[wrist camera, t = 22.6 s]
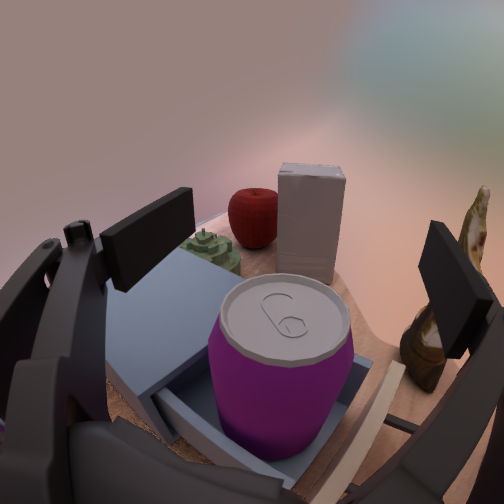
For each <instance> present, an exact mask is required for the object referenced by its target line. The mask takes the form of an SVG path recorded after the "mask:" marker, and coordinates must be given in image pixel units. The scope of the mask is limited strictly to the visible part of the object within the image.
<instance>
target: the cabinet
mask: <svg viewBox="0 0 504 504" xmlns="http://www.w3.org/2000/svg"><path fill="white" fill-rule="evenodd" d="M245 280H247V279H244V278H242V277H240V276H238V275H236V274H234V273H232V272H230V271H227V270H225V269H223V268H221V267H219V266H217V265H215V264H213V263H211V262H209V261H207V260H204V259H202V258H200V257H198V256H196V255H194V254H192V253H190V252H188V251H186V250H184V249H182V248H180V247H177V248H176V249H175V250H173V251H172V252H171V253H170V254H169V255H168V256H167V257H166V258H164V259H163V260H162V261H161V262H160V263H159V264H158V265H157V266H155V267H154V268H153V269H152V270H151V271H150V272H149V273H148V274H147V275H145V276H144V277H143V278H142V279H141V280H140V281H139V282H138V283H137V284H136V285H135V286H133V287H132V288H131V289H130V290H129V291H128V292H127V293H124V292H121V291H118V290H115V289H114V286H113V283H112V280H111V278H110V279H109V280H108V281H107V282H106V284H107V287H108V296H107V311H106V337H105V368H106V378H107V379H108V380H109V382H110V383H111V384H112V385H113V387H114V388H115V389H116V390H117V392H118V393H119V394H120V395H121V396H122V398H123V399H124V400H125V401H126V402H127V403H128V405H129V406H130V407H131V408H132V409H133V410H134V411H135V413H136V414H137V415H138V416H139V417H140V418H141V419H142V420H143V421H144V422H145V423H146V424H147V425H148V427H149V428H150V429H151V430H152V431H153V432H154V433H155V434H156V435H157V436H158V437H159V438H160V439H161V440H162V441H163V442H165V443H166V444H167V445H168V446H170V445H171V444H173V443H174V442H175V441H176V440H177V439H179V438H180V437H181V436H180V435H179V434H178V433H177V432H176V431H175V430H174V429H172V428H171V427H170V426H169V425H168V424H167V423H166V422H165V421H164V420H163V419H162V418H161V416H160V414H159V412H158V410H157V409H156V407H155V405H154V403H153V401H152V399H151V397H150V396H151V395H152V394H154V393H155V392H156V391H158V390H159V389H160V388H162V387H163V386H164V385H166V384H167V383H169V382H170V381H171V380H173V379H174V378H175V377H177V376H178V375H179V374H181V373H182V372H183V371H184V370H186V369H187V368H188V367H190V366H191V365H192V364H194V363H195V362H196V361H197V360H199V359H200V358H201V357H203V356H204V355H205V354H206V353H208V338H209V336H210V334H211V331H212V329H213V326H214V324H215V322H216V319H217V317H218V314H219V311H220V307H221V305H222V302H223V300H224V298H225V296H226V294H227V293H228V292H229V291H231V290H232V289H233V288H234V287H235V286H236V285H238V284H239V283H241V282H243V281H245Z"/></svg>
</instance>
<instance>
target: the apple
mask: <svg viewBox="0 0 504 504" xmlns="http://www.w3.org/2000/svg"><path fill="white" fill-rule="evenodd" d="M228 217H229V223H230V226H231V229H232V232H233V234H234V236H235V237H236V239H237V240H238V242H239V243H241V244H242V245H243V246H245V247H247V248H261V247H264V246H266V245H268V244H270V243H271V242H272V241H274V240H275V239H276V237H277V223H278V193H276V192H275V191H272V190H269V189H262V188H249V189H242V190H239V191H237V192H236V193H235V194H234V195H233V196H232V198H231V200H230V202H229V206H228Z"/></svg>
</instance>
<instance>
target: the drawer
mask: <svg viewBox="0 0 504 504" xmlns="http://www.w3.org/2000/svg"><path fill="white" fill-rule="evenodd" d="M372 363H373V361H371V360H369V359H366V358H364V357H362V356H359V355H357V354H355V353H354V359H353V362H352V365H351V368H350V371H349V374H348V376H347V378H346V381H345V383H344V385H343V387H342V389H341V391H340V393H339V395H338V397H337V399H336V401H335V403H334V405H333V407H332V409H331V411H330V413H329V415H328V417H327V419H326V421H325V423H324V425H323V426H322V428H321V430H320V432H319V434H318V435H317V437H316V439H315V440H314V441H313V442H312V443H311V444H310V445H309V446H308V447H306V448H305V449H304V450H303V451H302V452H300V453H298V454H296V455H294V456H292V457H290V458H287V459H281V460H274V461H268V460H260V459H259V458H257V457H256V456H254V455H252V454H251V453H249V452H248V451H246V450H245V449H243V448H242V447H240V446H239V445H238V444H236V443H235V442H233V441H232V440H230V439H229V438H228V437H226V435H225V433H224V431H223V429H222V427H221V425H220V420H219V415H218V410H217V404H216V399H215V393H214V387H213V382H212V376H211V369H210V363H209V357H208V353H206V354H205V355H204V356H203V357H201V358H200V359H199V360H197V361H196V362H195V363H194V364H192V365H191V366H190V367H188V368H187V369H186V370H184V371H183V372H182V373H181V374H179V375H178V376H177V377H175V378H174V379H173V380H171V381H170V382H169V383H167V384H166V385H164V386H163V387H162V388H160V389H159V390H158V391H156V392H155V393H154V394H152V395H151V396H150V397H151V399H152V401H153V403H154V405H155V407H156V409H157V410H158V412H159V414H160V416H161V418H162V419H163V420H164V421H165V422H166V423H167V424H168V425H169V426H170V427H171V428H172V429H174V430H175V431H176V432H177V433H178V434H179V435H180V436H181V437H182V438H184V439H185V440H186V441H187V442H188V443H189V444H191V445H192V446H193V447H194V448H195V449H197V450H198V451H199V452H200V453H201V454H203V455H204V456H205V457H206V458H208V459H209V460H210V461H212V462H213V463H214V464H216V465H217V466H225V467H237V468H241V469H244V470H248V471H251V472H255V473H259V474H263V475H267V476H271V477H276V478H280V479H285V480H284V483H283V486H282V487H284V488H286V489H288V490H290V489H291V488H292V487H293V486H294V485H295V483H296V482H297V481H298V480H299V478H300V477H301V476H302V475H303V473H304V472H305V471H306V470H307V468H308V467H309V466H310V464H311V463H312V462H313V460H314V459H315V458H316V456H317V455H318V453H319V452H320V451H321V449H322V448H323V446H324V445H325V443H326V442H327V440H328V439H329V438H330V436H331V435H332V433H333V431H334V430H335V428H336V427H337V425H338V424H339V422H340V421H341V419H342V417H343V416H344V414H345V412H346V411H347V409H348V407H349V406H350V404H351V402H352V401H353V399H354V397H355V395H356V394H357V392H358V390H359V388H360V386H361V385H362V383H363V381H364V379H365V377H366V375H367V373H368V371H369V369H370V367H371V365H372ZM405 368H406V365H403V364H401V363H398V362H396V361H394V360H393V361H392V362H391V364H390V366H389V367H388V369H387V371H386V373H385V374H384V376H383V378H382V379H381V381H380V383H379V384H378V386H377V388H376V389H375V391H374V393H373V394H372V396H371V397H370V399H369V400H368V402H367V403H366V405H365V407H364V408H363V410H362V412H361V414H360V416H359V418H358V419H357V421H356V423H355V425H354V426H353V428H352V430H351V431H350V433H349V435H348V437H347V438H346V440H345V441H344V443H343V445H342V446H341V448H340V449H339V451H338V452H337V454H336V455H335V457H334V459H333V460H332V461H331V463H330V464H329V466H328V467H327V469H326V470H325V472H324V473H323V474H322V476H321V477H320V479H319V480H318V481H317V483H316V484H315V485H314V487H313V488H312V489H311V490H310V492H309V493H308V494H307V496H306V497H305V498H304V499H305V500H306V501H307V502H309V503H310V504H336V503H337V502H338V500H339V499H340V497H341V496H342V494H343V493H344V492H346V493H348V494H350V493H352V492H353V491H354V490H355V489H357V488H358V487H359V486H357V485H355V484H352V483H350V482H351V481H352V479H353V477H354V476H355V474H356V472H357V471H358V469H359V467H360V466H361V464H362V462H363V461H364V459H365V457H366V455H367V453H368V452H369V450H370V448H371V446H372V444H373V442H374V440H375V438H376V436H377V434H378V432H379V430H380V428H381V426H382V424H383V423H384V424H387V425H389V426H392V427H394V428H396V429H399V430H402V431H404V432H407V433H409V434H412V435H413V434H414V432H415V431H416V430H417V429H418V428H419V427H420V426H418V425H416V424H413V423H410V422H408V421H405V420H403V419H400V418H398V417H395V416H393V415H390V414H388V411H389V409H390V406H391V404H392V402H393V399H394V397H395V394H396V392H397V389H398V387H399V384H400V382H401V379H402V376H403V374H404V371H405Z"/></svg>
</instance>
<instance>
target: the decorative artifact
mask: <svg viewBox="0 0 504 504" xmlns="http://www.w3.org/2000/svg"><path fill="white" fill-rule="evenodd" d="M178 247H180V248H182V249H184V250H186V251H188V252H190V253H192V254H194V255H196V256H198V257H200V258H202V259H204V260H207V261H209V262H211V263H213V264H215V265H217V266H219V267H221V268H223V269H225V270H227V271H230V272H232V273H234V274H236V275H238V276H240V254H239V252H238V250H237V249H236V248H234V247H233V246H232V241H231V240H230V239H228V238H226V237H224V236H219V237H218V238H217V234H214V233H212V232H210V233H208V232H205V228H202V232H197V233H195V237H194V238H193V239H191V238H188V239H186V240H185V241H184V242H183V243H182V244H180V245H179V246H178Z"/></svg>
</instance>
